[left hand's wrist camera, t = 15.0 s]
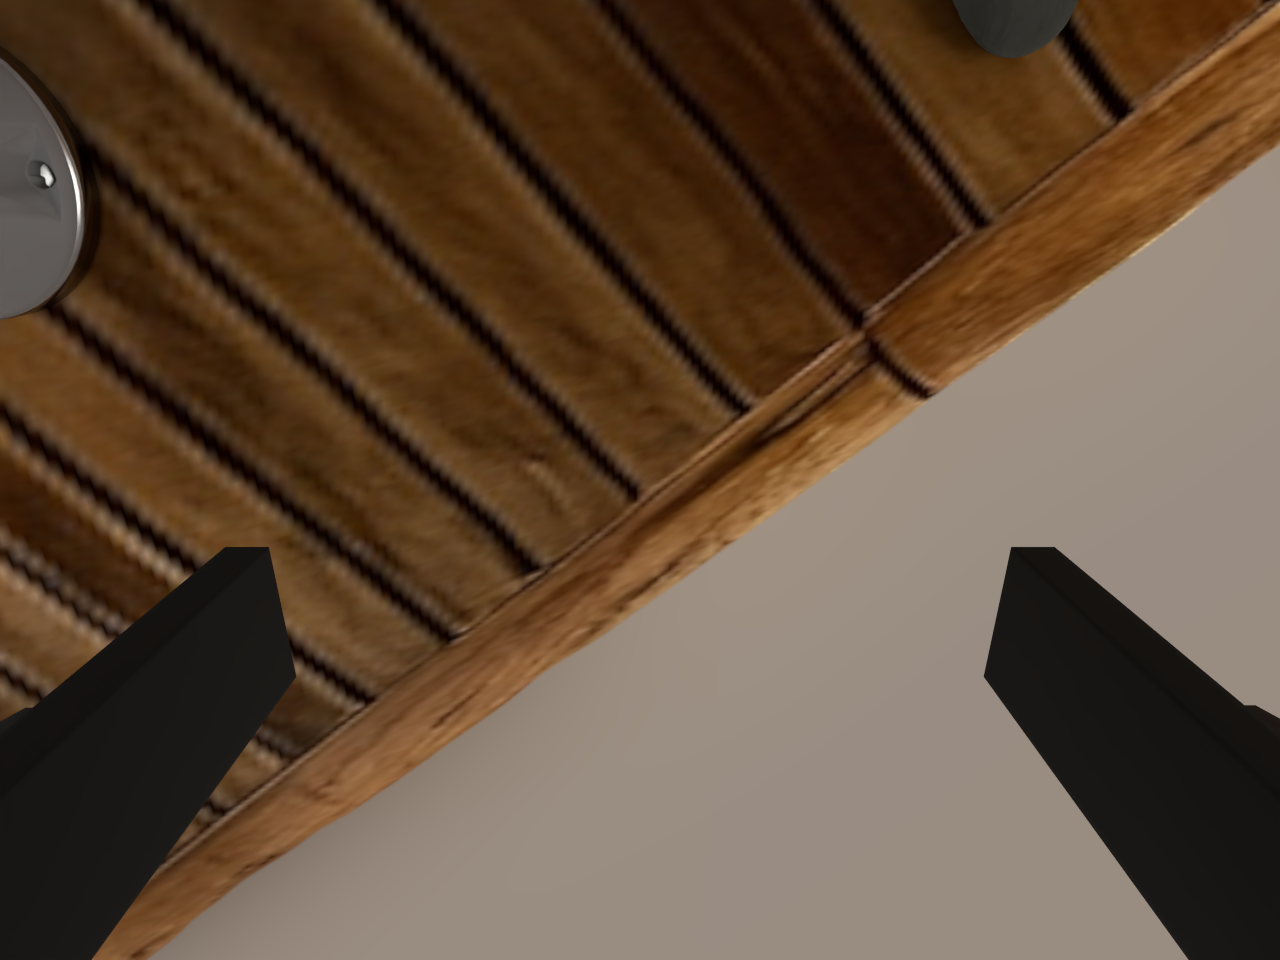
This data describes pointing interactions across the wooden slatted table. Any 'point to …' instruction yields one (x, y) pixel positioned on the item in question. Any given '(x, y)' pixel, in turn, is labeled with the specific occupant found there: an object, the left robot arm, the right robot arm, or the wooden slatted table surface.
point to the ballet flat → (1014, 23)
